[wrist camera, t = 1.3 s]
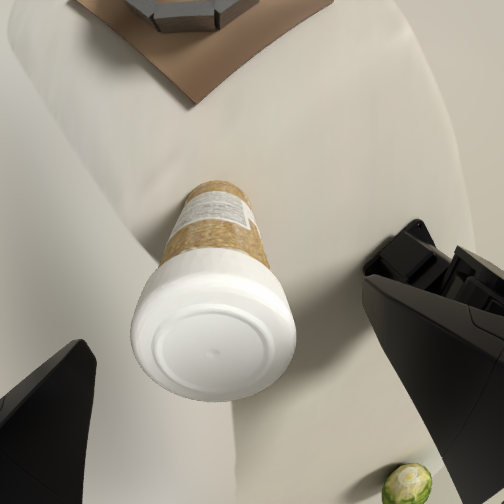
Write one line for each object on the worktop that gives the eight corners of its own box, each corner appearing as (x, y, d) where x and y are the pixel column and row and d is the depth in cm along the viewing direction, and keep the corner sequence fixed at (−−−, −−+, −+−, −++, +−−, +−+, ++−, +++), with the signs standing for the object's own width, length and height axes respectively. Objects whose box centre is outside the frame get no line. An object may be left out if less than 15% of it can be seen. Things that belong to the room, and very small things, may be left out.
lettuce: (425, 440, 40) (447, 483, 29) (419, 468, 48) (435, 501, 38) (370, 467, 41) (388, 514, 30) (377, 488, 49) (389, 523, 39)
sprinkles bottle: (244, 248, 21) (276, 411, 9) (179, 239, 20) (132, 397, 8) (257, 184, 19) (322, 291, 7) (187, 173, 18) (122, 265, 6)
